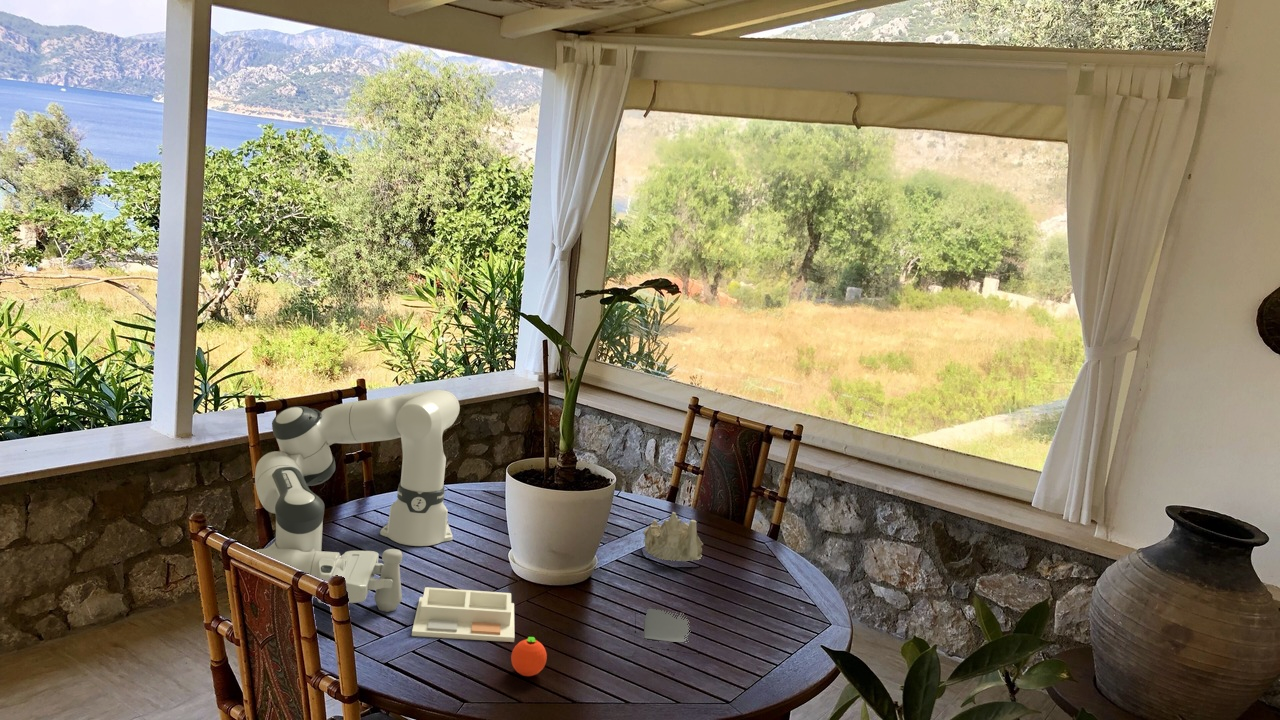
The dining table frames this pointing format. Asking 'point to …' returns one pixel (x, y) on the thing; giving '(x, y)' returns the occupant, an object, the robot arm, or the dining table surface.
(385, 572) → the salt shaker
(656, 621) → the wallet
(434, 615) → the divided organizer tray
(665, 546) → the sand castle
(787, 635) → the dining table surface
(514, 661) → the clementine
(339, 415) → the robot arm
